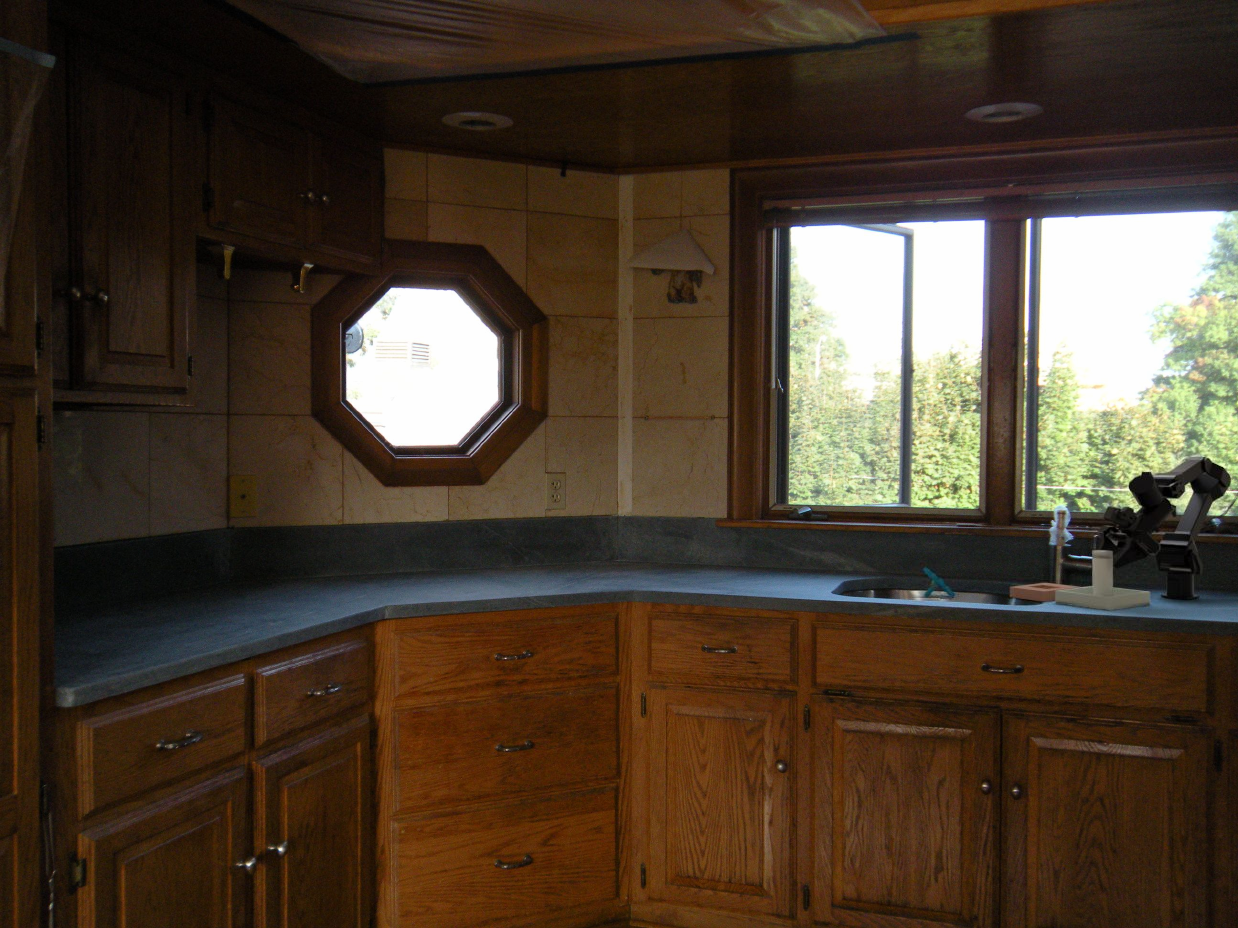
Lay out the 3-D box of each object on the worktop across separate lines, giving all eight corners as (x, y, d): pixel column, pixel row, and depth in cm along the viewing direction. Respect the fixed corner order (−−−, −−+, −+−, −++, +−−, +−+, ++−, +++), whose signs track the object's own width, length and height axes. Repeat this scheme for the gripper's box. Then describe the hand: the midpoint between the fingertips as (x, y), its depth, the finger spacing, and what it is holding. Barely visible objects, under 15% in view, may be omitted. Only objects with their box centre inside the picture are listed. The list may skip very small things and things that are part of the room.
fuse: (1099, 599, 250) (1099, 549, 250) (1116, 601, 247) (1116, 551, 246) (1088, 600, 248) (1088, 550, 248) (1105, 603, 244) (1105, 552, 244)
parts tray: (1096, 597, 258) (1096, 585, 257) (1150, 604, 246) (1150, 591, 246) (1055, 603, 249) (1055, 590, 249) (1109, 610, 237) (1109, 597, 237)
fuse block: (1045, 592, 268) (1045, 582, 268) (1080, 596, 259) (1080, 586, 259) (1009, 596, 260) (1009, 586, 260) (1044, 601, 252) (1044, 591, 252)
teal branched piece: (959, 593, 256) (929, 564, 258) (942, 610, 256) (912, 581, 258) (954, 593, 266) (924, 565, 269) (937, 609, 267) (908, 581, 269)
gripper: (1105, 492, 257) (1061, 538, 256) (1147, 496, 238) (1100, 545, 238) (1136, 523, 257) (1093, 569, 257) (1180, 530, 239) (1134, 578, 238)
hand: (1104, 565), depth 247 cm, fingers open, 9 cm apart
